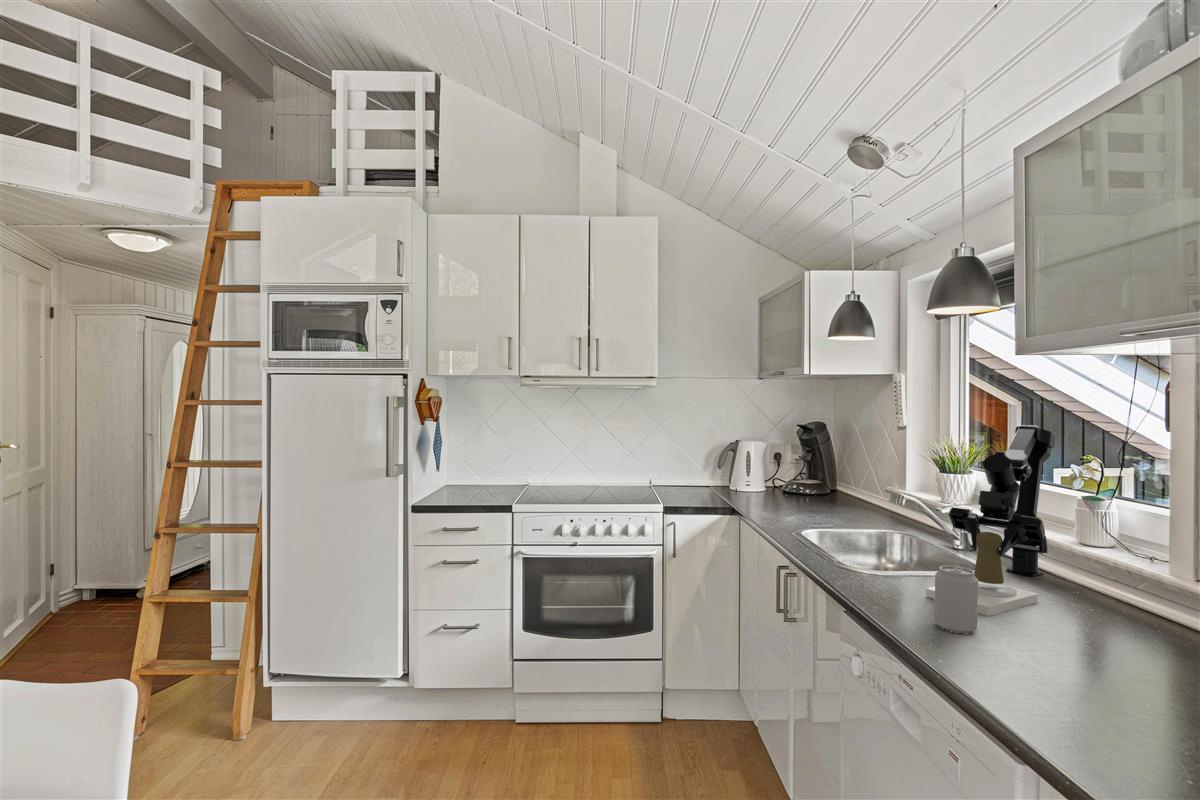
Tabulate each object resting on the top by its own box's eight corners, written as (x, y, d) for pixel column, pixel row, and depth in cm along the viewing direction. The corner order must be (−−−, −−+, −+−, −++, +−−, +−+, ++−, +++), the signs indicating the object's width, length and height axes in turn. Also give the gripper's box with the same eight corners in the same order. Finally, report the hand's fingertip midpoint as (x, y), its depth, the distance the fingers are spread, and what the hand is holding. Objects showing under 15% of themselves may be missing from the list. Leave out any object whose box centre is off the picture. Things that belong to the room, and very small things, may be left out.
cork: (1002, 585, 140) (1003, 537, 140) (971, 580, 144) (972, 533, 144) (1005, 579, 145) (1006, 532, 145) (975, 574, 149) (976, 528, 148)
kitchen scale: (975, 585, 154) (976, 575, 154) (1038, 602, 142) (1038, 591, 142) (925, 597, 144) (926, 585, 144) (988, 616, 132) (988, 604, 132)
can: (928, 628, 125) (930, 568, 124) (940, 619, 130) (941, 561, 130) (971, 638, 119) (972, 576, 119) (981, 629, 125) (983, 569, 125)
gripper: (952, 473, 154) (935, 524, 146) (1043, 482, 140) (1029, 539, 133) (962, 502, 159) (946, 552, 152) (1050, 513, 145) (1037, 569, 138)
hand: (987, 552), depth 143 cm, fingers closed on cork, 5 cm apart
